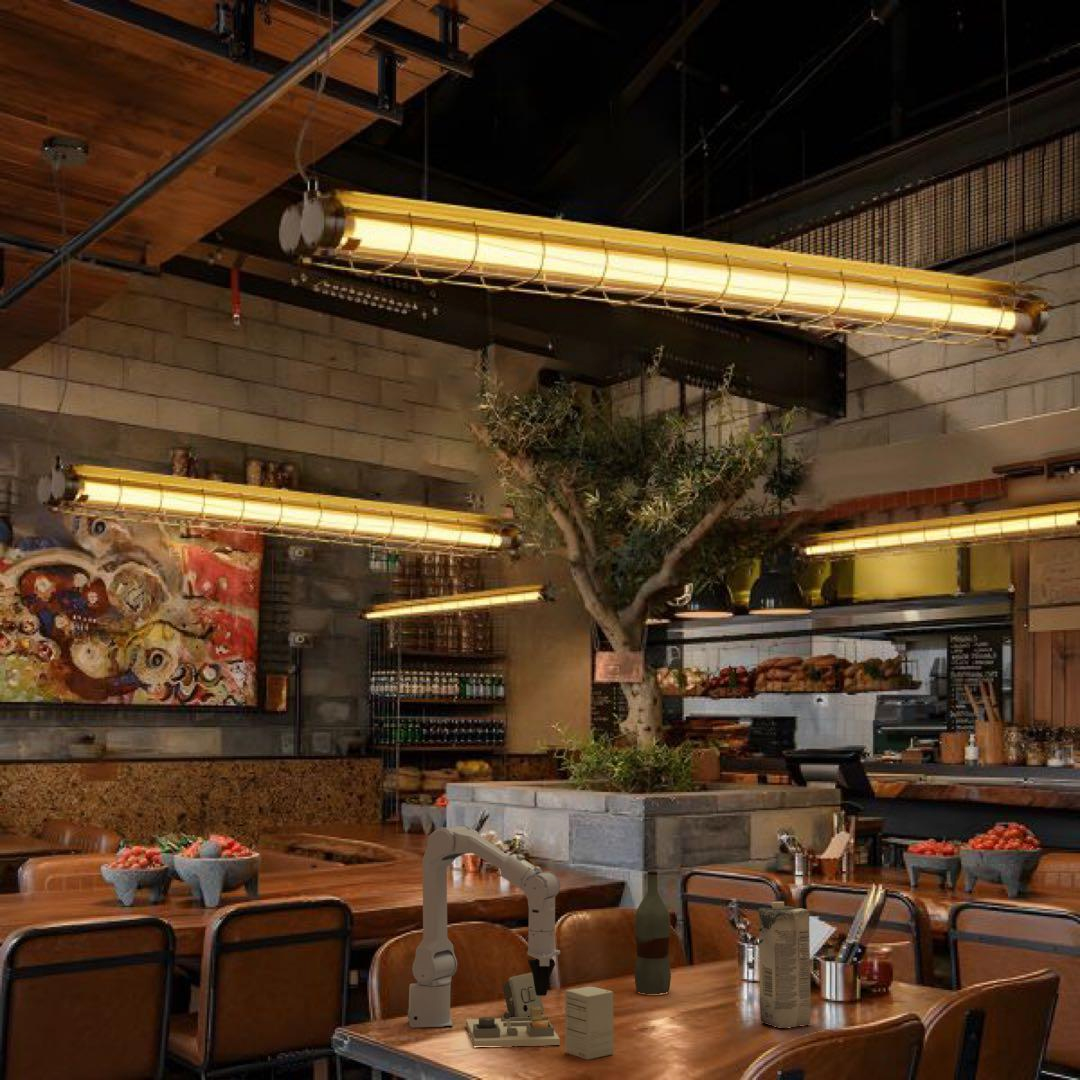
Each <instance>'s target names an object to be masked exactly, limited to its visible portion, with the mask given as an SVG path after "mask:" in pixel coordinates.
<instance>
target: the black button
mask: <svg viewBox="0 0 1080 1080" xmlns="http://www.w3.org/2000/svg"><path fill="white" fill-rule="evenodd" d="M478 1019H479V1027H480V1028H494V1027H495V1019H496V1018H495V1017H492V1016H483V1017H479V1018H478Z"/></svg>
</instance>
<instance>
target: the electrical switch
mask: <svg viewBox="0 0 1080 1080" xmlns="http://www.w3.org/2000/svg"><path fill="white" fill-rule="evenodd" d="M502 988H503V989H502V990H503V993H504V997H505V998H504V999H505V1004H506V1009H507V1012H510V1014H511V1016H512V1017H528V1016H529V1017H530V1011H531V1007H540V1008H541V1014H543V1013H544V1011H545V1010H544V1003H543V998H542V996H537V995H536V992H535V987H534V980H533V974H532V972H528V973H523V974H520V975H515V976H511V977H509V978H508V981H505V982H502Z"/></svg>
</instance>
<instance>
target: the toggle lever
mask: <svg viewBox="0 0 1080 1080" xmlns="http://www.w3.org/2000/svg"><path fill="white" fill-rule="evenodd" d="M502 1016H503V1018H505V1019H506V1023H507V1028H508V1030H512V1028H511V1022H510V1017H511V1014H510V1012H508V1011H505V1012H503V1015H502Z"/></svg>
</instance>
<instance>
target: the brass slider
mask: <svg viewBox="0 0 1080 1080" xmlns="http://www.w3.org/2000/svg"><path fill="white" fill-rule="evenodd" d="M529 1017H530V1020H531V1022H534V1021H541V1017H542V1013H541V1008H540V1007H531V1011H530V1016H529Z"/></svg>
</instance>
